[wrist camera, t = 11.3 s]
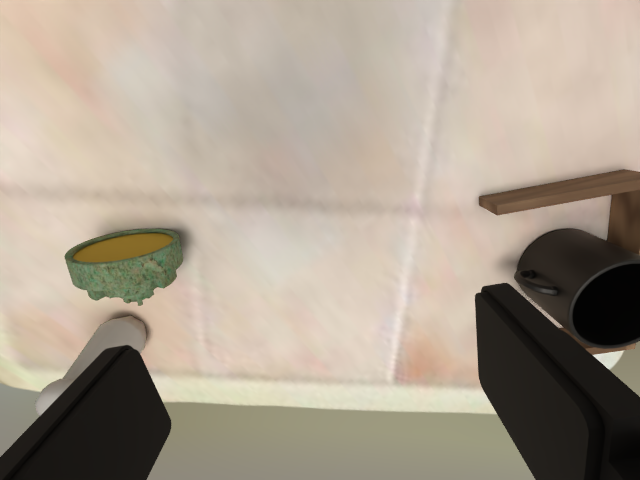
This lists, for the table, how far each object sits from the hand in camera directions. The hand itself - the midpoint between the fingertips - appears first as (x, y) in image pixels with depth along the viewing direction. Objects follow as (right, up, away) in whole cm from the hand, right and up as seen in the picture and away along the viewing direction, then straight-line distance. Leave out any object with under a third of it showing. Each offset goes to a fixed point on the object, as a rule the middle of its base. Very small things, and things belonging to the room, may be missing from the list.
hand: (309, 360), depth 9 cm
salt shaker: (-24, -8, +34) cm, 42 cm away
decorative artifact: (-19, +1, +30) cm, 36 cm away
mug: (+27, 0, +30) cm, 40 cm away
